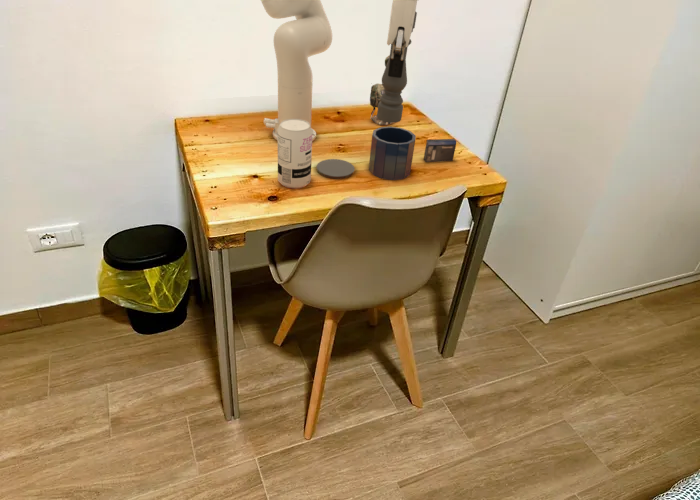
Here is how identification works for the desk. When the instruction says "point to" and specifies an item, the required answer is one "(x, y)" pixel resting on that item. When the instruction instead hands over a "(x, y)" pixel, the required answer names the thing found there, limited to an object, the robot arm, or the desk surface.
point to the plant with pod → (377, 98)
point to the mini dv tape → (439, 150)
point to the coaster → (335, 169)
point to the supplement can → (294, 153)
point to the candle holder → (393, 90)
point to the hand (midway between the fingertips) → (395, 72)
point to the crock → (391, 153)
